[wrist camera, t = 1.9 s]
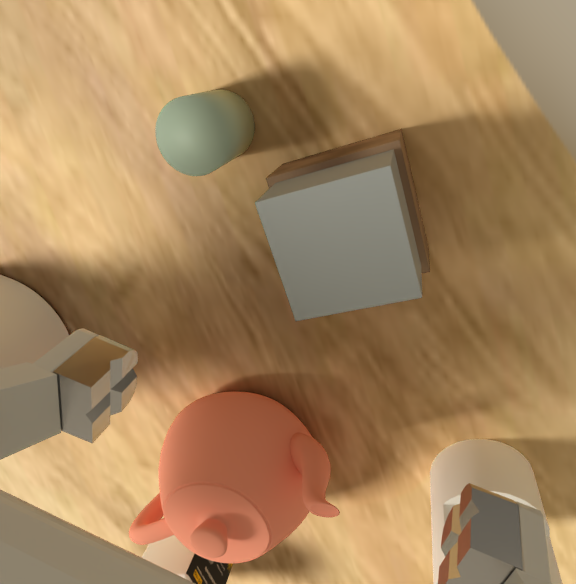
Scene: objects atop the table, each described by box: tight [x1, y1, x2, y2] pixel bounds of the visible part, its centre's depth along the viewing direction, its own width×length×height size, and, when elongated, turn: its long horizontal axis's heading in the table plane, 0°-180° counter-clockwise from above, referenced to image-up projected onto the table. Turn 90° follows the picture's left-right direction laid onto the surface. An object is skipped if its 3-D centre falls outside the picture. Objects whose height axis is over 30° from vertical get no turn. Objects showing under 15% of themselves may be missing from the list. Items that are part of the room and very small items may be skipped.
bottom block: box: [266, 129, 430, 273], centre depth 36 cm, size 9×9×5 cm
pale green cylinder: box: [156, 89, 255, 176], centre depth 35 cm, size 5×5×6 cm
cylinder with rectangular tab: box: [430, 439, 562, 584], centre depth 41 cm, size 9×9×12 cm
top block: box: [255, 149, 422, 321], centre depth 32 cm, size 8×8×5 cm
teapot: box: [129, 392, 340, 563], centre depth 45 cm, size 22×15×12 cm
